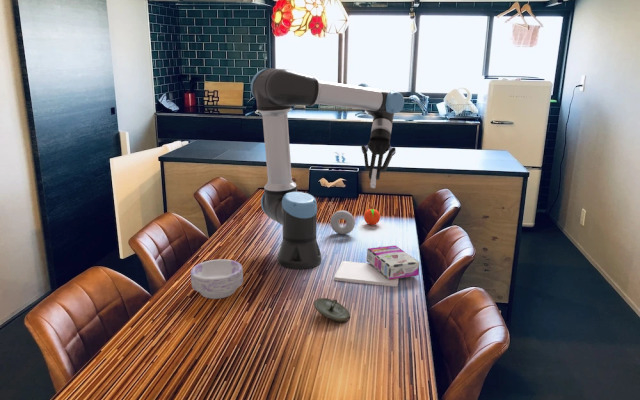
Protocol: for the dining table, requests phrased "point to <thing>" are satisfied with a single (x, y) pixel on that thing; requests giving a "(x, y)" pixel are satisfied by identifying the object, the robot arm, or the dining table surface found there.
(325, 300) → the lid
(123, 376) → the dining table surface
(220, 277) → the paper bowls
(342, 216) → the donut
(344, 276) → the cutting board
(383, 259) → the candy bar box
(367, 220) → the clementine
